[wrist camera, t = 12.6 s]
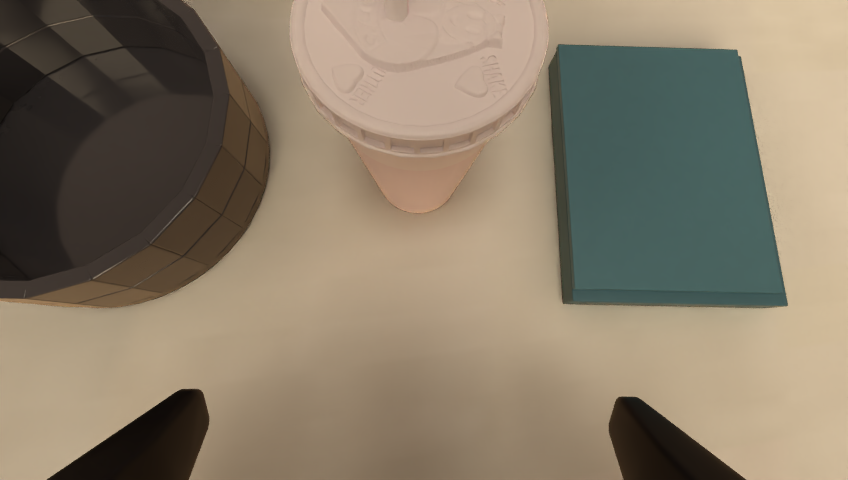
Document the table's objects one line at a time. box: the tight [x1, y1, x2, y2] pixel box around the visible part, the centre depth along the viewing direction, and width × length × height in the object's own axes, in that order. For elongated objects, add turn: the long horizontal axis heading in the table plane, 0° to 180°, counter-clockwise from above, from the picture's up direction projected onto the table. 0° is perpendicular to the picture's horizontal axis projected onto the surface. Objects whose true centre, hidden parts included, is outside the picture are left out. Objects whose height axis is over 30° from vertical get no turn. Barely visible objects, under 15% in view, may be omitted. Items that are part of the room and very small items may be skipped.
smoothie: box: [289, 0, 549, 213], centre depth 12 cm, size 6×6×14 cm
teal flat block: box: [549, 44, 788, 308], centre depth 19 cm, size 12×9×2 cm
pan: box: [0, 0, 270, 308], centre depth 17 cm, size 13×13×4 cm
